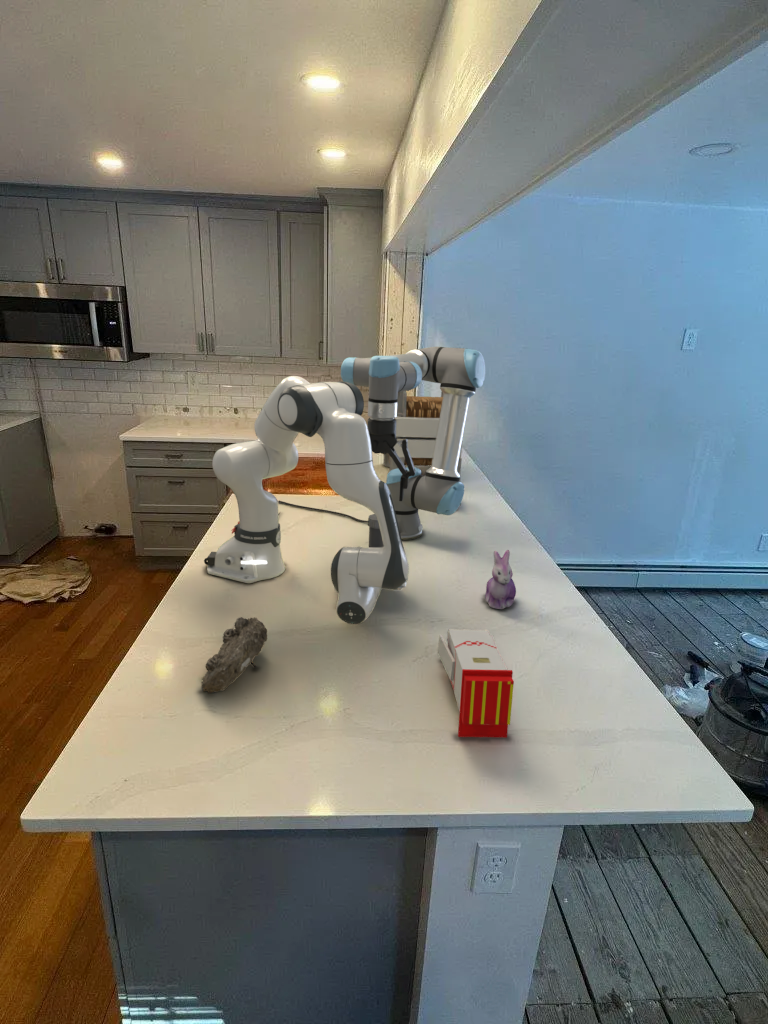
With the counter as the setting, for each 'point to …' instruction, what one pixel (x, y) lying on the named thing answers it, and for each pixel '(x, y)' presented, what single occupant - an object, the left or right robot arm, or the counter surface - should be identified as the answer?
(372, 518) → the lid
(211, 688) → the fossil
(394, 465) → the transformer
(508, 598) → the figurine
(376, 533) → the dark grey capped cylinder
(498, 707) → the toy
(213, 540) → the counter surface
